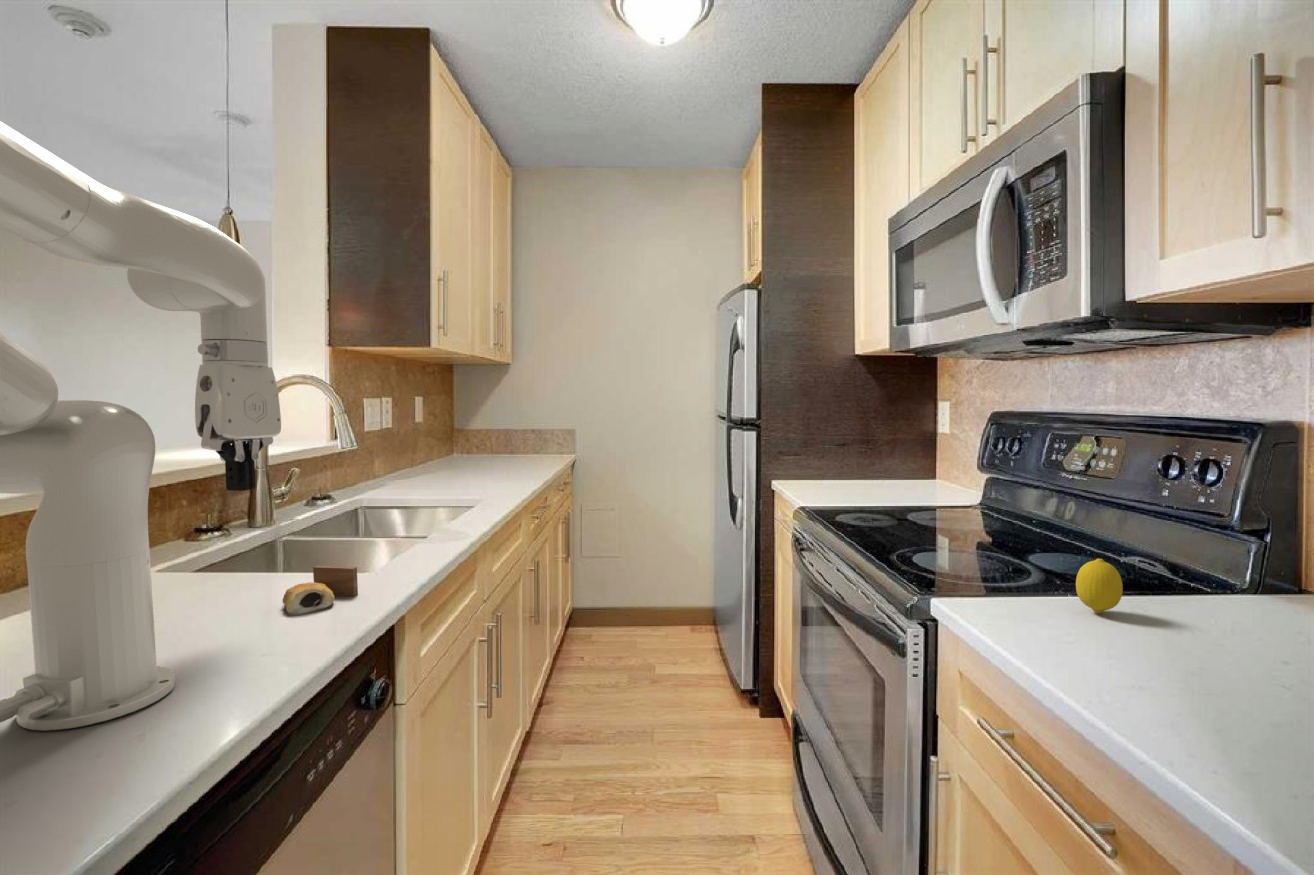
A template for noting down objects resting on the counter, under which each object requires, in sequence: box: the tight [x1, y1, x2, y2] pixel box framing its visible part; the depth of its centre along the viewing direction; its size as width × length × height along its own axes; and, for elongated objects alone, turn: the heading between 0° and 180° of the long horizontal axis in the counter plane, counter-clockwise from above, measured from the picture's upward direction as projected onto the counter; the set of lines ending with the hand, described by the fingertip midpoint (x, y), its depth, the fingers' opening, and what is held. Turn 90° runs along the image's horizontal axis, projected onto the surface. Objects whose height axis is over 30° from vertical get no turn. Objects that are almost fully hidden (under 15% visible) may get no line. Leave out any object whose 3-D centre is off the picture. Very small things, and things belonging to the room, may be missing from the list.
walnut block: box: [312, 565, 359, 597], centre depth 103 cm, size 1×7×4 cm, turn 82°
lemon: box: [1075, 558, 1124, 615], centre depth 92 cm, size 6×6×8 cm
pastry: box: [282, 581, 336, 616], centre depth 99 cm, size 9×7×4 cm
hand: (240, 489), depth 88 cm, fingers closed
